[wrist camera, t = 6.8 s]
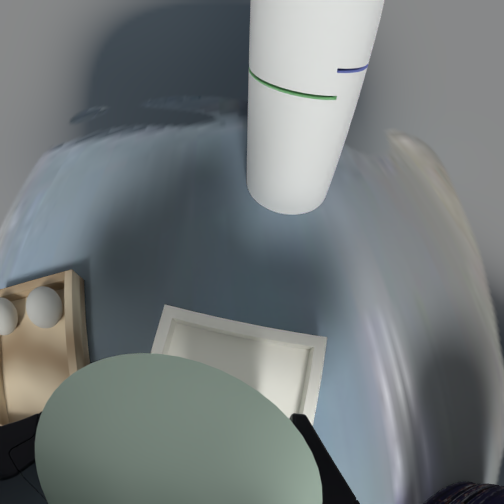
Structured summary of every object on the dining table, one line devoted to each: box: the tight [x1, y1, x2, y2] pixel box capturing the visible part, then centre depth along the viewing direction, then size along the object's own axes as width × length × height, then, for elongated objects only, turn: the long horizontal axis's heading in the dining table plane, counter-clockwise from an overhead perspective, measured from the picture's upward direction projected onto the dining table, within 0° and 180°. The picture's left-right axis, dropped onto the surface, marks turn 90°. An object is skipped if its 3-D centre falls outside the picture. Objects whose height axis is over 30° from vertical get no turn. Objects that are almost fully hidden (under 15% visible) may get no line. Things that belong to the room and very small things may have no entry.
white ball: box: [26, 286, 63, 328], centre depth 16 cm, size 3×3×3 cm
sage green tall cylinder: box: [35, 353, 323, 504], centre depth 7 cm, size 5×5×11 cm
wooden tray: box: [0, 270, 90, 426], centre depth 15 cm, size 12×10×2 cm
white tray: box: [151, 304, 327, 426], centre depth 14 cm, size 12×10×2 cm
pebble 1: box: [0, 297, 18, 335], centre depth 15 cm, size 3×3×3 cm
